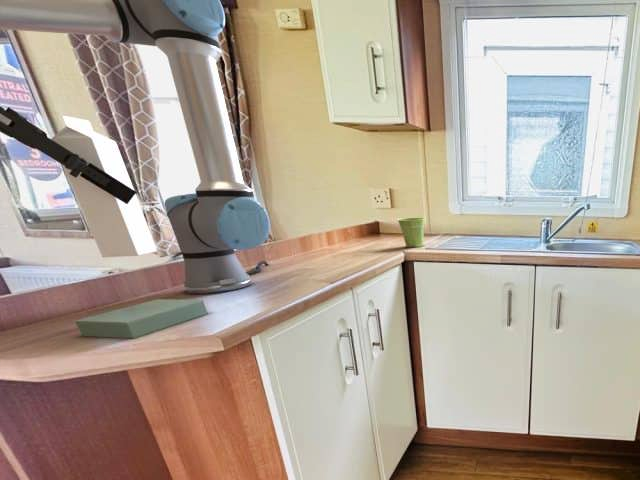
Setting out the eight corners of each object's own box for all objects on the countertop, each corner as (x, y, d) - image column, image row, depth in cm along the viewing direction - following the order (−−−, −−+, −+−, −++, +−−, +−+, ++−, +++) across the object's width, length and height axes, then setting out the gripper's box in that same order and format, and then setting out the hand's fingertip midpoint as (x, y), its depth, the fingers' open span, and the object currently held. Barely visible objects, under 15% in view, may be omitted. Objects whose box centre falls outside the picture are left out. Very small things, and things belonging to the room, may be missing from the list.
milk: (157, 251, 83) (109, 120, 73) (138, 256, 77) (83, 115, 68) (123, 253, 82) (70, 121, 73) (100, 257, 76) (40, 115, 67)
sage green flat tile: (162, 312, 93) (157, 299, 91) (207, 313, 90) (202, 299, 89) (82, 336, 79) (74, 320, 77) (133, 338, 76) (126, 322, 75)
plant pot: (395, 248, 179) (391, 220, 174) (410, 244, 189) (406, 217, 184) (420, 248, 176) (416, 219, 171) (433, 244, 186) (430, 217, 181)
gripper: (-47, 114, 69) (122, 213, 84) (-101, 90, 54) (117, 216, 69) (-18, 78, 69) (145, 183, 85) (-63, 44, 54) (144, 179, 70)
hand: (132, 198), depth 77 cm, fingers closed on milk, 8 cm apart
